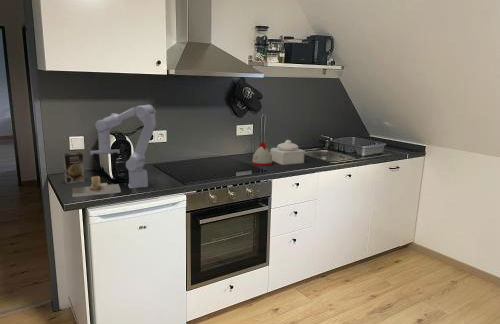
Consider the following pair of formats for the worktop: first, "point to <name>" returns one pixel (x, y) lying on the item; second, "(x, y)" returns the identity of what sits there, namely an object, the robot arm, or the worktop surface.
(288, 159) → the grey lidded box
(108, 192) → the hole plate
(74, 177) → the coffee box
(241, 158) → the worktop surface
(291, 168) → the worktop surface
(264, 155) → the grey bobble hat
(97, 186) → the peg
